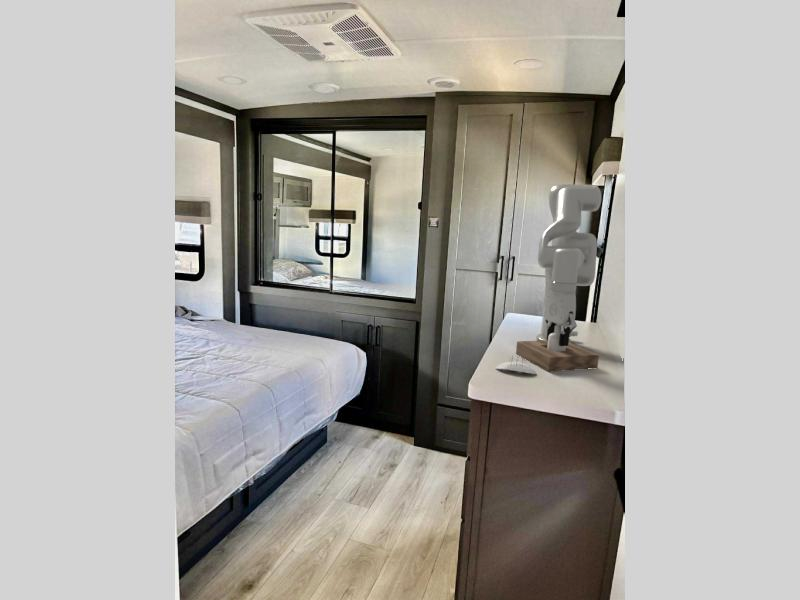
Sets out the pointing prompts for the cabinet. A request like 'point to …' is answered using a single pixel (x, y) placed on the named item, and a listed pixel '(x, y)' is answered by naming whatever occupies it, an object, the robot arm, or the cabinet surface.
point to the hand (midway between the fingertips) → (557, 342)
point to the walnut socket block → (556, 356)
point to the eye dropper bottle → (555, 340)
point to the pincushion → (516, 367)
